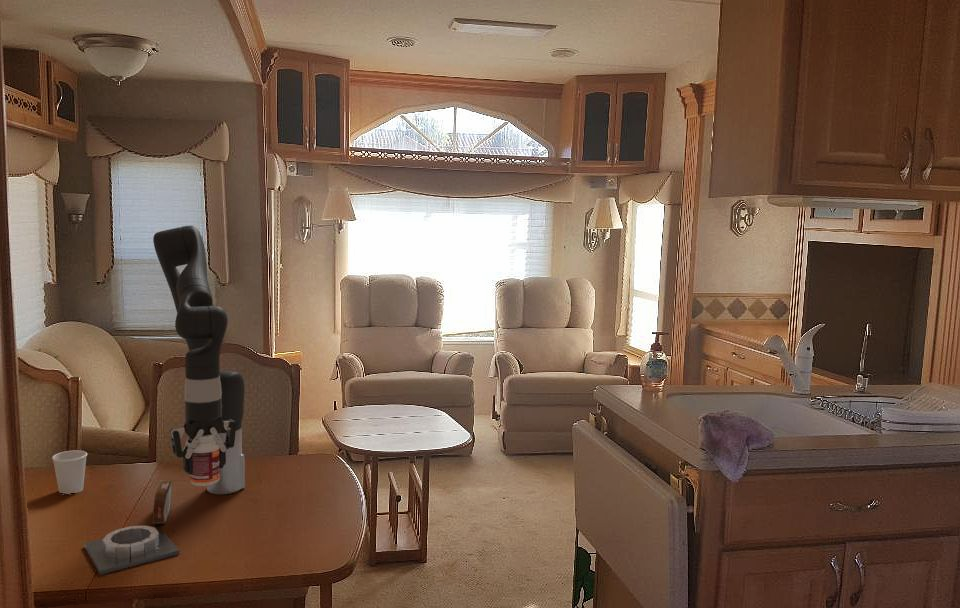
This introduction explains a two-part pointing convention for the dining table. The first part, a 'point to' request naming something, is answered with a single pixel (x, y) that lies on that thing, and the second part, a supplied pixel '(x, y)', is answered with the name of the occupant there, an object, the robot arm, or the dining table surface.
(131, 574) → the dining table surface
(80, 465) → the dixie cup
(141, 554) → the collar
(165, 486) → the tin
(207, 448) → the pill bottle
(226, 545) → the dining table surface
